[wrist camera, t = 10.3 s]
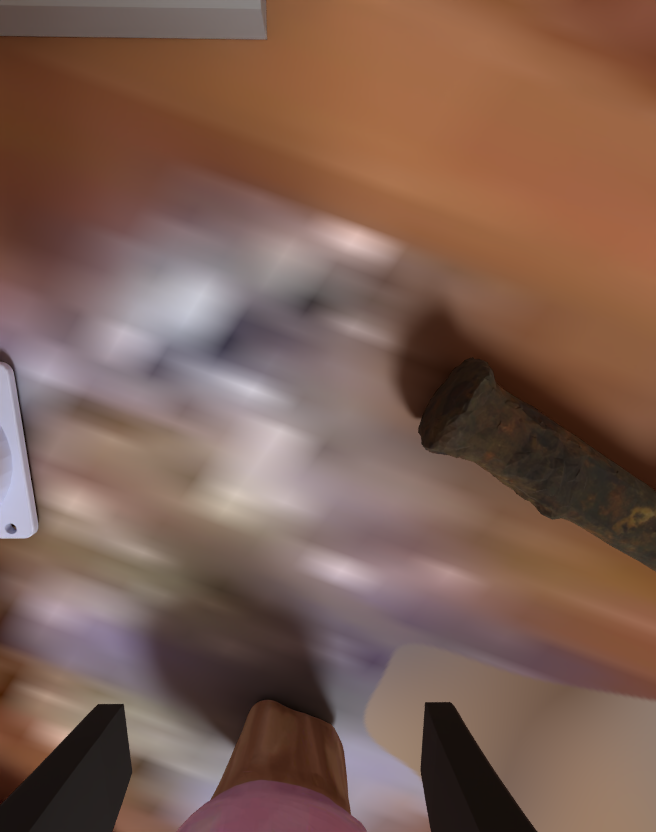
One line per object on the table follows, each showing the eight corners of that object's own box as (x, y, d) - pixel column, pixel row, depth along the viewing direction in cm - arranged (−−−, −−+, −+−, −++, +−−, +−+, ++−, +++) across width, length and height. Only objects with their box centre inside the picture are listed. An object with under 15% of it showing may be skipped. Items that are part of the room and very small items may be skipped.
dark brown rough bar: (401, 424, 19) (427, 457, 14) (457, 351, 18) (502, 360, 13) (695, 625, 21) (796, 708, 17) (753, 568, 21) (875, 637, 16)
